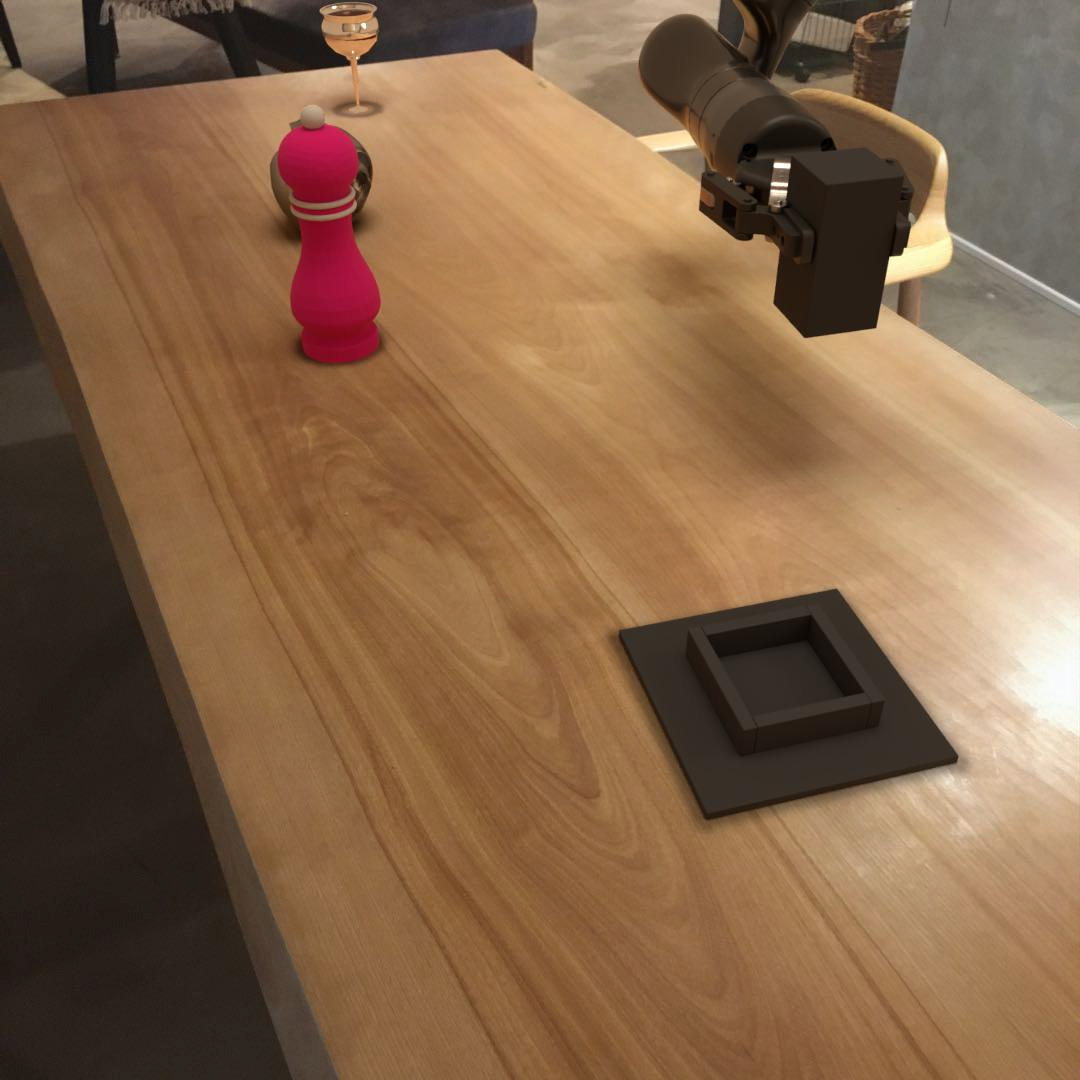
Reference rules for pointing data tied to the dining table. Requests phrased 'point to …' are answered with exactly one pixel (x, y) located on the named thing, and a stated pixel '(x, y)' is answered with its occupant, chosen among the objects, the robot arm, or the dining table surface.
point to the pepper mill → (328, 243)
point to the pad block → (839, 241)
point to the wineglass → (350, 34)
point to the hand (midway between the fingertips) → (853, 245)
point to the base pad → (781, 702)
